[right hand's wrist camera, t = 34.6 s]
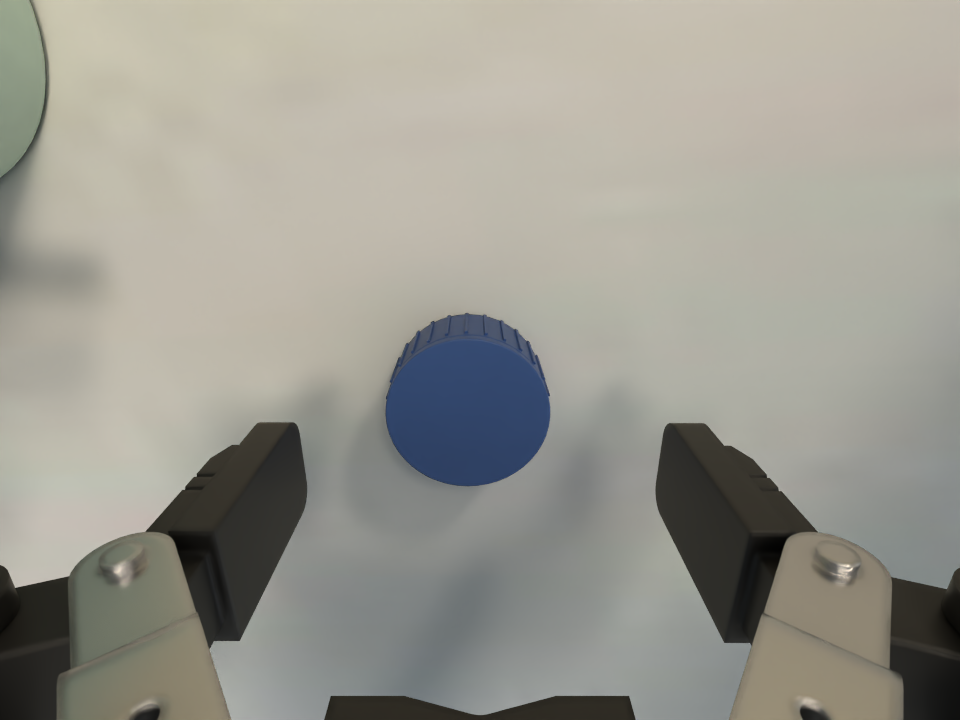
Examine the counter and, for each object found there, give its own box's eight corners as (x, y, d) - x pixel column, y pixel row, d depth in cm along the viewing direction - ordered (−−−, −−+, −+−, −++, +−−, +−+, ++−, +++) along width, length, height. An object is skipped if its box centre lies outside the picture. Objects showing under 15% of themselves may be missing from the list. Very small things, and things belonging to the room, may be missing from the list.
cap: (561, 334, 15) (576, 361, 13) (517, 460, 17) (523, 503, 15) (414, 294, 15) (404, 316, 13) (381, 427, 16) (368, 467, 14)
